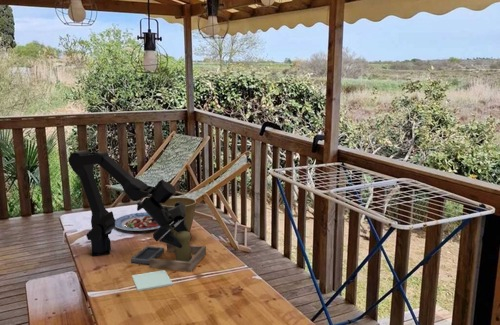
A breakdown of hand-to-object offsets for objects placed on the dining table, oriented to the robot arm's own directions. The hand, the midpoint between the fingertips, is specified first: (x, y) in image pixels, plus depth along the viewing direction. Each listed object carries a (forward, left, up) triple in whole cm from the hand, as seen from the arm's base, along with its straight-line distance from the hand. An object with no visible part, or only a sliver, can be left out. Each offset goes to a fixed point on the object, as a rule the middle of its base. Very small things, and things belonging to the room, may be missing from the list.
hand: (186, 242), depth 160 cm
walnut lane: (-2, +2, -7) cm, 8 cm away
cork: (-1, +1, -7) cm, 7 cm away
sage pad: (-15, -11, -7) cm, 20 cm away
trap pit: (-12, +9, -7) cm, 17 cm away
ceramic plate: (-7, +48, -7) cm, 49 cm away
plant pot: (+3, +24, -7) cm, 25 cm away
